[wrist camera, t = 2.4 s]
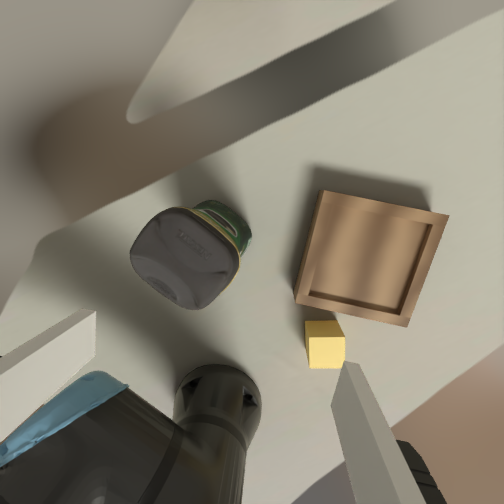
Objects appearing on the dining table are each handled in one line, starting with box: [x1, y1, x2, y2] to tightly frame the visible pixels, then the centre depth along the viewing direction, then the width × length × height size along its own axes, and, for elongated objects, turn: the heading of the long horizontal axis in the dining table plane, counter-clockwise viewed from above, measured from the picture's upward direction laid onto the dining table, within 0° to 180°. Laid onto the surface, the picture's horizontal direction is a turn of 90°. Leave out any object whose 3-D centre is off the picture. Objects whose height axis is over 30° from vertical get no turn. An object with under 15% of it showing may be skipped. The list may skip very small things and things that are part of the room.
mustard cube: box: [305, 320, 345, 368], centre depth 40 cm, size 5×5×5 cm
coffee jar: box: [130, 200, 252, 310], centre depth 31 cm, size 10×8×19 cm
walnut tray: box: [293, 190, 449, 327], centre depth 37 cm, size 16×16×4 cm
